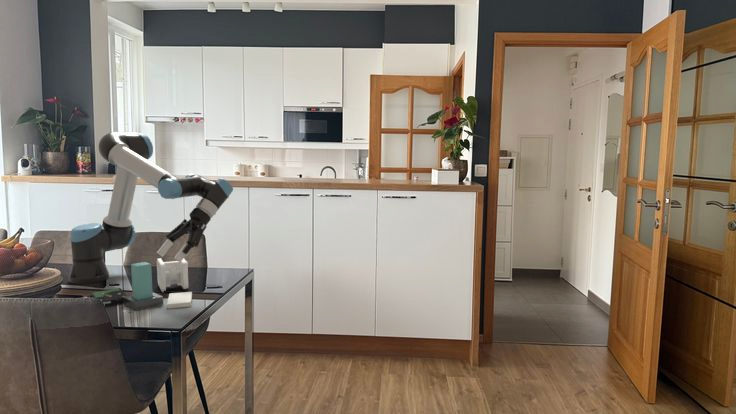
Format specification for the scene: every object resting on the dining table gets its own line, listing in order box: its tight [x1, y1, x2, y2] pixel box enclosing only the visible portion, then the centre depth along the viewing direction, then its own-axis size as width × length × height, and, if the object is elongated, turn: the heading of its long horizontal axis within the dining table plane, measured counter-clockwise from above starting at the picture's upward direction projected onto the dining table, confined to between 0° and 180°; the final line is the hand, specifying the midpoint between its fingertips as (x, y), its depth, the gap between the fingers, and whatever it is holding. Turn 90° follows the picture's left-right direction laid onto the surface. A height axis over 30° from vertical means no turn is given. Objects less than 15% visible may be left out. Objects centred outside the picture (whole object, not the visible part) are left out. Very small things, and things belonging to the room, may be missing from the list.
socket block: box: [122, 292, 164, 312], centre depth 187 cm, size 10×10×3 cm
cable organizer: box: [156, 257, 189, 293], centre depth 209 cm, size 15×11×12 cm
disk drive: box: [90, 287, 128, 307], centre depth 193 cm, size 10×3×15 cm
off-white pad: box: [166, 291, 193, 309], centre depth 191 cm, size 14×8×2 cm, turn 17°
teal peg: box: [130, 261, 154, 300], centre depth 187 cm, size 5×5×15 cm
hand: (168, 257), depth 192 cm, fingers open, 13 cm apart
